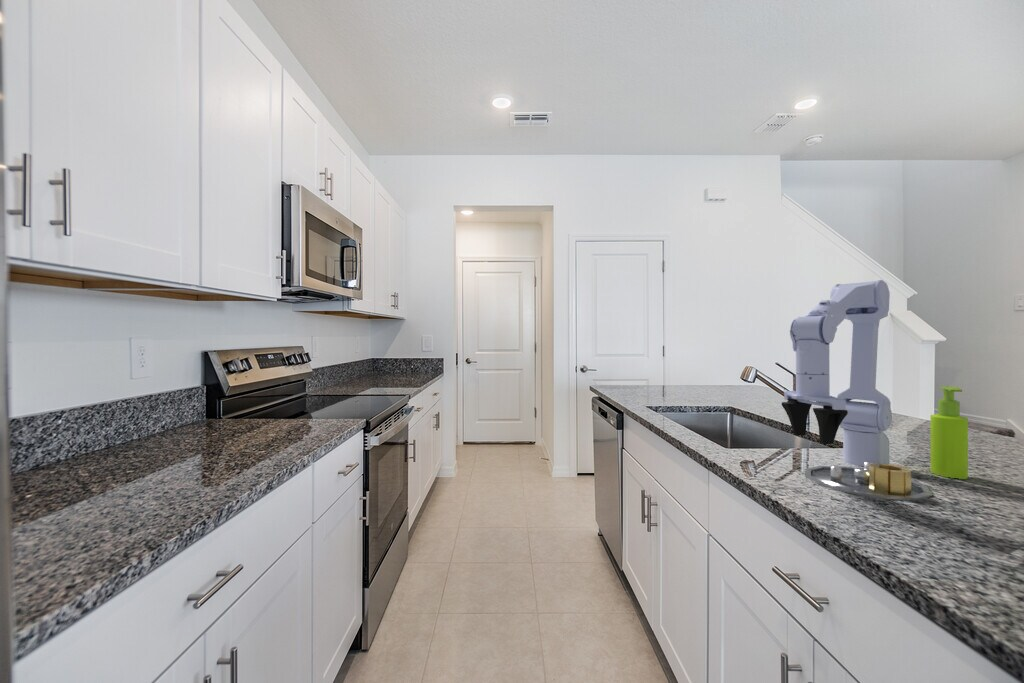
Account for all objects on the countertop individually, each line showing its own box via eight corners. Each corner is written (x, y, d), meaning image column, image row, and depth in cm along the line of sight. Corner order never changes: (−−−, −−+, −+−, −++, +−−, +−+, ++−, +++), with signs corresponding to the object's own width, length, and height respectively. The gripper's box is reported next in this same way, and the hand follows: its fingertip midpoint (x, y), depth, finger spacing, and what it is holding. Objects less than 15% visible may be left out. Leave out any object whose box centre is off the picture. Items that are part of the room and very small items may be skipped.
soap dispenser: (938, 478, 94) (938, 387, 94) (926, 469, 100) (926, 384, 100) (975, 482, 91) (975, 388, 91) (960, 473, 98) (960, 385, 98)
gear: (880, 484, 87) (880, 462, 87) (916, 493, 82) (916, 469, 82) (864, 488, 85) (863, 465, 85) (900, 498, 80) (900, 473, 80)
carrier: (838, 467, 102) (838, 450, 102) (951, 495, 84) (951, 474, 84) (784, 479, 94) (784, 461, 94) (897, 512, 75) (897, 490, 75)
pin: (833, 484, 90) (833, 465, 90) (843, 486, 89) (843, 467, 89) (828, 485, 90) (828, 466, 90) (838, 488, 88) (838, 468, 88)
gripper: (770, 371, 96) (771, 432, 96) (820, 377, 82) (821, 448, 82) (801, 371, 96) (801, 431, 96) (856, 376, 82) (856, 447, 82)
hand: (812, 439), depth 89 cm, fingers open, 7 cm apart
